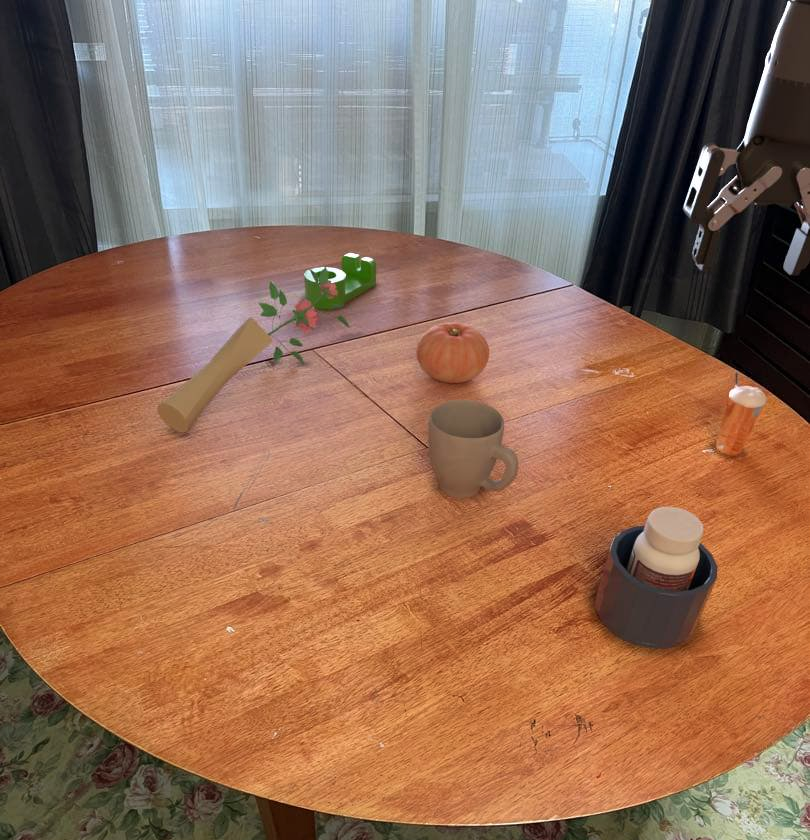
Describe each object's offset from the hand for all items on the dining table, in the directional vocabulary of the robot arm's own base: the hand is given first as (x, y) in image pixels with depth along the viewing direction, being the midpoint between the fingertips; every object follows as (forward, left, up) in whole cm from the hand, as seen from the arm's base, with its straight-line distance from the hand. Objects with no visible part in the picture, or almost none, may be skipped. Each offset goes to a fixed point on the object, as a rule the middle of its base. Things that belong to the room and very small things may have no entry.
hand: (746, 270), depth 72 cm
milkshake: (-13, -16, -30) cm, 37 cm away
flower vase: (+53, -29, -30) cm, 68 cm away
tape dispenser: (+43, -62, -30) cm, 81 cm away
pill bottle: (+6, +16, -30) cm, 34 cm away
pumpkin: (+24, -33, -30) cm, 51 cm away
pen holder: (+6, +16, -30) cm, 35 cm away
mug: (+23, -4, -30) cm, 38 cm away
